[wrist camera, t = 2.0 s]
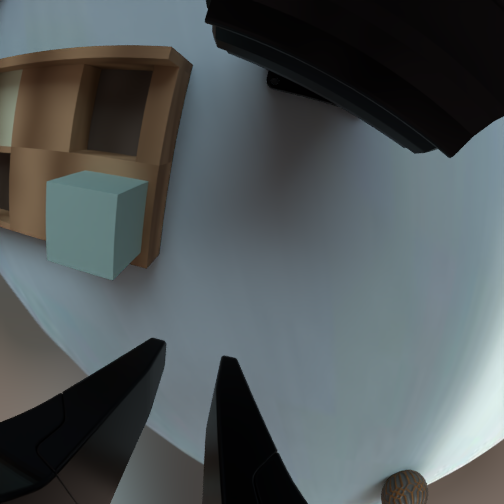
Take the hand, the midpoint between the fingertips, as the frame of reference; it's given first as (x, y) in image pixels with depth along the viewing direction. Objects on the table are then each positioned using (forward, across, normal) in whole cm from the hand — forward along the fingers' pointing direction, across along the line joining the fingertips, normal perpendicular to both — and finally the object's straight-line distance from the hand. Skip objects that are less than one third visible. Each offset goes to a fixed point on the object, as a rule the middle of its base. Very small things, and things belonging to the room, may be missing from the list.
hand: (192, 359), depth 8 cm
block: (+10, +8, 0) cm, 13 cm away
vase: (+13, -30, +31) cm, 45 cm away
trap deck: (+13, +14, -3) cm, 19 cm away
